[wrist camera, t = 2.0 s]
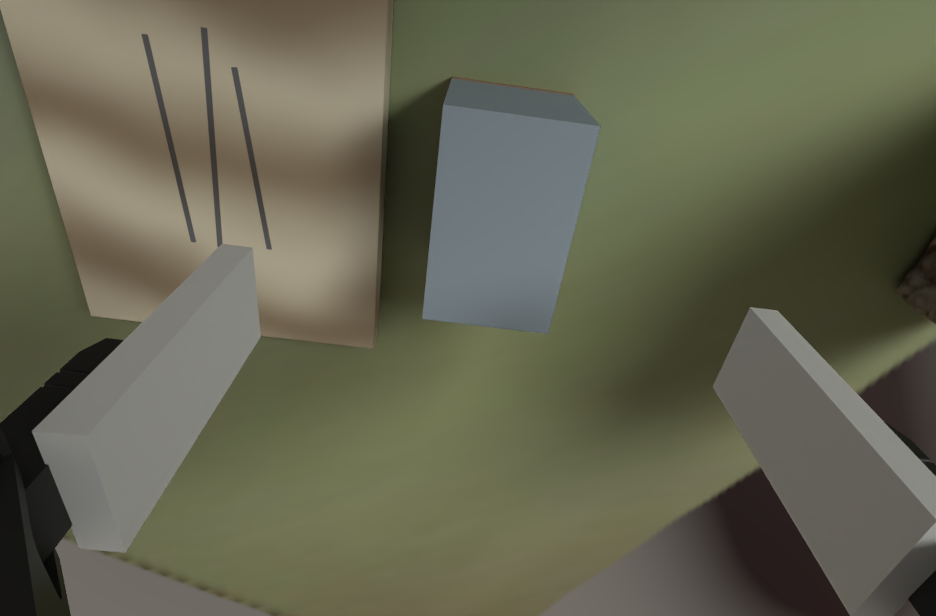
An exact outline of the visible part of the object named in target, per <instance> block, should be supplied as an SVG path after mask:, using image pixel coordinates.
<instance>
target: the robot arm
mask: <svg viewBox="0 0 936 616" xmlns="http://www.w3.org/2000/svg"><path fill="white" fill-rule="evenodd" d="M260 337H261V334H260V323H259V312H258V301H257V290H256V279H255V268H254V257H253V247H245V246H236V245H228V244H221V245H220V246H219V247H218V248H217V249H216V250H215V251H214V252H213V253H212V254H211V255H210V256H209V257H208V258H207V259H206V260H205V261H204V262H203V263H202V264H201V265H200V266H199V267H198V268H197V269H196V270H195V271H194V272H193V273H192V274H191V275H190V276H189V277H188V278H187V279H186V280H185V281H184V282H183V283H182V284H181V285H180V286H179V287H178V288H177V289H176V290H175V291H174V292H173V293H171V294H170V295H169V296H168V297H167V298H166V299H165V300H164V301H163V302H162V303H161V304H160V305H159V306H158V307H157V308H156V309H155V310H154V311H153V312H152V313H151V314H150V315H149V316H148V317H147V318H146V319H145V320H144V321H143V322H142V323H141V324H140V325H139V326H138V327H137V328H136V329H135V330H134V331H133V332H132V333H131V334H130V335H129V336H128V337H127V338H126V339H125V340H118V339H108V338H106V339H104V340H102V341H100V342H98V343H96V344H94V345H92V346H90V347H88V348H86V349H84V350H82V351H80V352H79V353H78V354H76V355H75V356H74V357H73V358H72V359H71V360H70V361H69V362H68V363H67V364H65V365H64V366H63V367H62V368H61V369H60V373H55V374H54V375H53V376H52V377H51V378H50V379H49V380H48V381H47V382H45V385H44V387H40V388H39V389H38V390H37V391H36V392H34V393H33V394H32V395H31V396H30V397H29V398H28V399H27V400H26V401H24V402H23V403H22V404H21V405H20V406H19V407H18V408H17V409H16V410H14V411H13V412H12V413H11V414H10V415H9V416H8V417H7V418H6V419H5V420H3V421H2V422H1V423H0V616H71V615H70V610H69V604H68V600H67V594H66V590H65V584H64V579H63V574H62V569H61V564H60V559H59V557H58V554H57V552H56V550H55V547H56V546H57V545H58V543H59V542H60V541H61V539H62V538H63V537H64V535H65V534H66V533H67V531H68V530H69V529H70V528H71V529H72V531H73V534H74V536H75V539H76V541H77V544H78V546H79V549H90V550H101V551H113V552H124V553H125V552H126V551H127V549H128V548H129V546H130V544H131V543H132V541H133V540H134V538H135V537H136V535H137V533H138V532H139V530H140V529H141V527H142V525H143V524H144V522H145V521H146V519H147V517H148V516H149V514H150V513H151V511H152V509H153V508H154V506H155V505H156V503H157V501H158V500H159V498H160V497H161V495H162V493H163V492H164V490H165V489H166V487H167V485H168V484H169V482H170V481H171V479H172V477H173V476H174V474H175V473H176V471H177V470H178V468H179V466H180V465H181V463H182V462H183V460H184V458H185V457H186V455H187V454H188V452H189V450H190V449H191V447H192V446H193V444H194V442H195V441H196V439H197V438H198V436H199V434H200V433H201V431H202V430H203V428H204V426H205V425H206V423H207V422H208V420H209V418H210V417H211V415H212V414H213V412H214V410H215V409H216V407H217V406H218V404H219V403H220V401H221V399H222V398H223V396H224V395H225V393H226V391H227V390H228V388H229V387H230V385H231V383H232V382H233V380H234V379H235V377H236V375H237V374H238V372H239V371H240V369H241V367H242V366H243V364H244V363H245V361H246V359H247V358H248V356H249V355H250V353H251V351H252V350H253V348H254V347H255V345H256V344H257V342H258V340H259V339H260ZM713 389H714V390H715V392H716V394H717V395H718V397H719V399H720V400H721V402H722V403H723V405H724V407H725V408H726V410H727V412H728V413H729V415H730V417H731V418H732V420H733V422H734V423H735V425H736V427H737V428H738V430H739V432H740V433H741V435H742V437H743V438H744V440H745V442H746V443H747V445H748V447H749V448H750V450H751V452H752V453H753V455H754V457H755V458H756V460H757V462H758V463H759V465H760V467H761V468H762V470H763V471H764V473H765V475H766V476H767V478H768V480H769V482H770V483H771V485H772V487H773V488H774V490H775V491H776V493H777V495H778V496H779V498H780V500H781V501H782V503H783V505H784V506H785V508H786V510H787V511H788V513H789V515H790V516H791V518H792V520H793V521H794V523H795V525H796V526H797V528H798V530H799V531H800V533H801V535H802V536H803V538H804V540H805V541H806V543H807V545H808V546H809V548H810V550H811V551H812V553H813V555H814V556H815V558H816V560H817V561H818V563H819V565H820V566H821V568H822V569H823V571H824V573H825V575H826V576H827V578H828V580H829V581H830V583H831V584H832V586H833V588H834V589H835V591H836V593H837V594H838V596H839V598H840V599H841V601H842V603H843V604H844V606H845V608H846V609H847V611H848V613H849V614H850V616H894V615H895V614H896V612H898V611H899V609H901V607H902V606H903V605H904V604H905V603H906V602H907V601H908V600H909V601H910V602H911V603H912V605H913V606H914V608H915V609H916V611H917V612H918V614H919V615H920V616H936V465H935V464H934V463H930V462H929V460H930V459H929V458H928V457H927V456H926V455H925V454H924V453H923V452H922V451H921V450H920V449H919V448H918V447H917V446H916V445H915V444H914V443H913V442H912V441H911V440H910V439H909V438H908V437H906V436H905V435H903V434H902V433H900V432H899V431H897V430H896V429H895V428H893V427H892V426H891V425H889V424H888V423H886V422H883V421H882V420H881V419H880V417H879V416H877V414H876V413H875V412H874V411H873V410H872V409H871V408H870V407H869V406H868V405H867V404H866V403H865V402H864V401H863V400H862V399H861V397H860V396H859V395H858V394H857V393H856V392H855V391H854V390H853V389H852V388H851V387H850V386H849V385H848V384H847V383H846V382H845V381H844V380H843V379H842V378H841V377H840V375H839V374H838V373H837V372H836V371H835V370H834V369H833V368H832V367H831V366H830V365H829V364H828V363H827V362H826V361H825V360H824V359H823V358H822V357H821V356H820V354H819V353H818V352H817V351H816V350H815V349H814V348H813V347H812V346H811V345H810V344H809V343H808V342H807V341H806V340H805V339H804V338H803V337H802V336H801V335H800V333H799V332H798V331H797V330H796V329H795V328H794V327H793V326H792V325H791V324H790V323H789V322H788V321H787V320H786V319H785V318H784V317H783V316H782V315H781V314H780V312H779V311H778V310H770V309H761V308H753V307H750V308H749V310H748V313H747V315H746V317H745V319H744V321H743V323H742V325H741V327H740V330H739V332H738V334H737V336H736V338H735V340H734V342H733V344H732V346H731V349H730V351H729V353H728V355H727V357H726V359H725V361H724V363H723V366H722V368H721V370H720V372H719V374H718V376H717V378H716V380H715V383H714V385H713Z"/></svg>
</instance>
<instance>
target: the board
mask: <svg viewBox="0 0 936 616" xmlns="http://www.w3.org/2000/svg"><path fill="white" fill-rule="evenodd" d="M393 6H394V0H0V10H1V13H2V16H3V20H4V23H5V27H6V30H7V33H8V37H9V40H10V43H11V47H12V50H13V54H14V57H15V60H16V64H17V67H18V70H19V74H20V77H21V81H22V84H23V87H24V91H25V94H26V98H27V101H28V104H29V108H30V111H31V114H32V118H33V121H34V125H35V128H36V131H37V135H38V138H39V141H40V145H41V148H42V152H43V155H44V158H45V162H46V165H47V168H48V172H49V175H50V179H51V182H52V185H53V189H54V192H55V195H56V199H57V202H58V206H59V209H60V212H61V216H62V219H63V222H64V226H65V229H66V233H67V236H68V239H69V243H70V246H71V249H72V253H73V256H74V260H75V263H76V266H77V270H78V273H79V277H80V280H81V283H82V287H83V290H84V293H85V297H86V300H87V304H88V307H89V310H90V314H91V316H96V317H104V318H113V319H122V320H130V321H139V322H143V321H144V320H145V319H146V318H147V317H148V316H149V315H150V314H151V313H152V312H153V311H154V310H155V309H156V308H157V307H158V306H159V305H160V304H161V303H162V302H163V301H164V300H165V299H166V298H167V297H168V296H169V295H170V294H171V293H173V292H174V291H175V290H176V289H177V288H178V287H179V286H180V285H181V284H182V283H183V282H184V281H185V280H186V279H187V278H188V277H189V276H190V275H191V274H192V273H193V272H194V271H195V270H196V269H197V268H198V267H199V266H200V265H201V264H202V263H203V262H204V261H205V260H206V259H207V258H208V257H209V256H210V255H211V254H212V253H213V252H214V251H215V250H216V249H217V248H218V247H219V246H220V245H221V244H228V245H236V246H245V247H253V257H254V268H255V279H256V290H257V301H258V312H259V323H260V334H261V336H268V337H276V338H285V339H294V340H302V341H311V342H319V343H328V344H337V345H345V346H354V347H363V348H371V349H374V345H375V342H376V339H377V335H378V331H379V309H380V287H381V266H382V244H383V222H384V201H385V179H386V157H387V136H388V114H389V92H390V71H391V49H392V27H393Z"/></svg>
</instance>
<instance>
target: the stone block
mask: <svg viewBox="0 0 936 616" xmlns="http://www.w3.org/2000/svg"><path fill="white" fill-rule="evenodd" d="M896 291H897V292H898V293H899V294H900V295H901V296H902V298H903V299H904V300H905V301H906V302H907V303H908V304H909V305H910V306H912V307H913V308H914V309H916V310H917V311H919V312H920V313H922V314H923V315H924V316H926V317H927V318H928V319H930V320H931V321H932V322H934V323H935V324H936V235H935V236H934V238H933V239H932V241H931V243H930V244H929V246H928V248H927V249H926V251H925V253H924V254H923V255H922V257H921V258H920V260H919V261H918V263H917V264H916V265H915V266H914V267H913V268H912V270H911V271H910V272H909V273H908V274H907V276H906V277H905V279H904V281H903V282H902V283H901V284H900V286H899V287H898V288H897V289H896Z"/></svg>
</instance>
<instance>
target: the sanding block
mask: <svg viewBox="0 0 936 616" xmlns="http://www.w3.org/2000/svg"><path fill="white" fill-rule="evenodd" d="M600 127H601V126H600V125H599V124H598V123H597V122H596V120H595V119H594V118H593V117H592V116H591V115H590V113H589V112H588V111H587V110H586V109H585V108H584V106H583V105H582V104H581V103H580V102H579V101H578V99H577V98H576V97H575V96H574V95H573V94H570V93H563V92H556V91H549V90H542V89H535V88H528V87H521V86H514V85H506V84H499V83H492V82H485V81H478V80H471V79H464V78H457V77H452V79H451V82H450V85H449V88H448V91H447V94H446V97H445V100H444V103H443V111H442V122H441V132H440V142H439V152H438V162H437V173H436V183H435V193H434V203H433V213H432V224H431V234H430V244H429V254H428V265H427V275H426V285H425V295H424V305H423V316H422V319H427V320H435V321H444V322H452V323H460V324H469V325H477V326H486V327H494V328H502V329H511V330H519V331H528V332H536V333H544V334H548V333H549V329H550V325H551V321H552V317H553V313H554V309H555V305H556V301H557V297H558V293H559V289H560V285H561V282H562V278H563V274H564V270H565V266H566V262H567V258H568V254H569V250H570V246H571V242H572V238H573V234H574V230H575V226H576V222H577V218H578V214H579V210H580V206H581V202H582V198H583V194H584V190H585V186H586V182H587V178H588V174H589V170H590V167H591V163H592V159H593V155H594V151H595V147H596V143H597V139H598V135H599V131H600Z"/></svg>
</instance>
